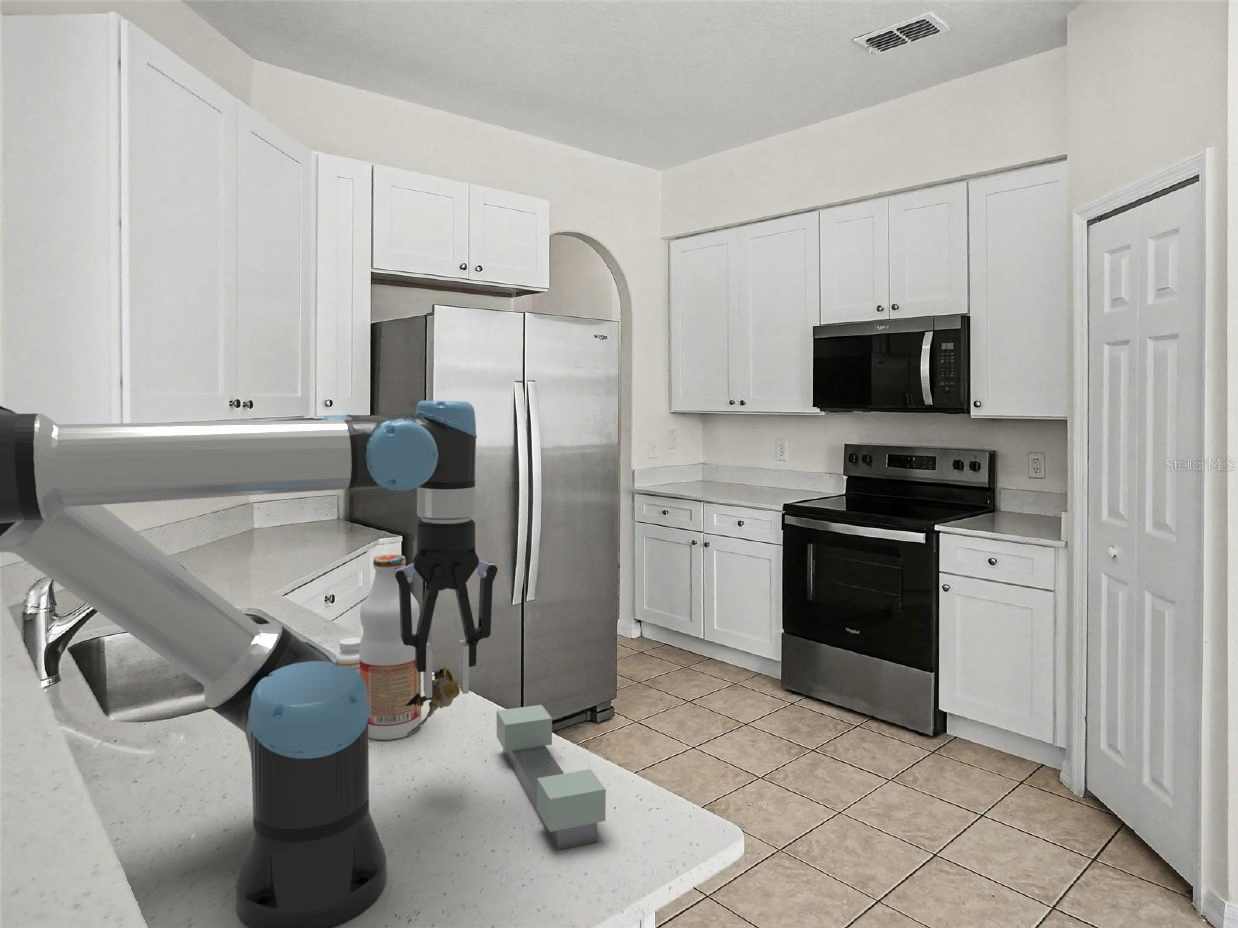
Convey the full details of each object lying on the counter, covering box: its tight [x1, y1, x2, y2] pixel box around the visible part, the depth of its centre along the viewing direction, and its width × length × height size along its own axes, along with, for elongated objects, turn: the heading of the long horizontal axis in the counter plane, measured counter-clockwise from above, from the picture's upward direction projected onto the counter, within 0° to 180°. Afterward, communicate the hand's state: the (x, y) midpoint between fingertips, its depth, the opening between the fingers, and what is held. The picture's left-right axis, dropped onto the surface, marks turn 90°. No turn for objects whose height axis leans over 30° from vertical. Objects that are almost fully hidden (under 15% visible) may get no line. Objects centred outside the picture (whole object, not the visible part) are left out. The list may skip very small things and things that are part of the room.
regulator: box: [406, 666, 461, 737], centre depth 105 cm, size 8×4×15 cm
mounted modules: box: [496, 704, 607, 832], centre depth 108 cm, size 7×28×4 cm, turn 21°
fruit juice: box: [359, 554, 422, 741], centre depth 127 cm, size 9×9×28 cm
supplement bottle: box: [335, 636, 362, 674], centre depth 142 cm, size 5×5×10 cm
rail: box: [502, 745, 599, 851], centre depth 108 cm, size 5×28×2 cm, turn 21°
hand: (446, 691), depth 106 cm, fingers closed on regulator, 4 cm apart
